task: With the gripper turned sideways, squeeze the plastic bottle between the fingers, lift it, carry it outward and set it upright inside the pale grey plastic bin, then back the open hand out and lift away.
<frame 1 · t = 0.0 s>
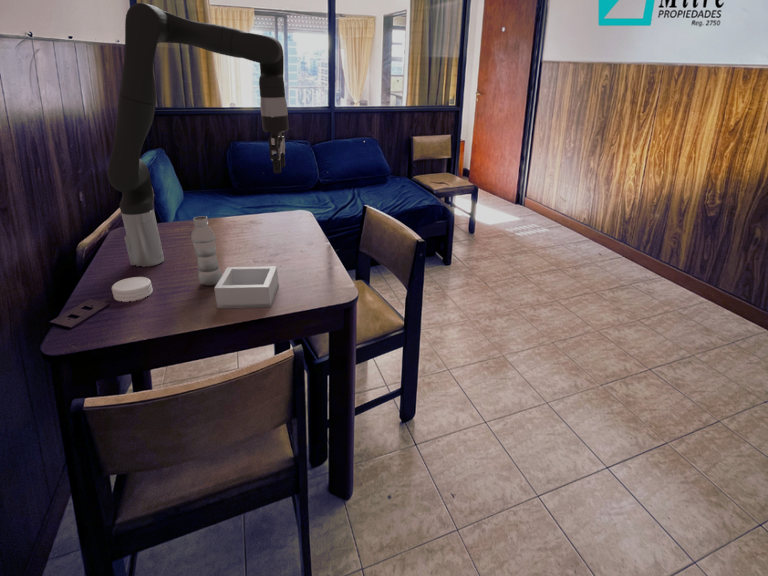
hand: (279, 170, 147), 29 cm above the table, tool pointing down, fingers open, 8 cm apart
plastic bottle: (211, 284, 142), on the table
bin: (249, 296, 135), on the table
coaster: (134, 295, 136), on the table
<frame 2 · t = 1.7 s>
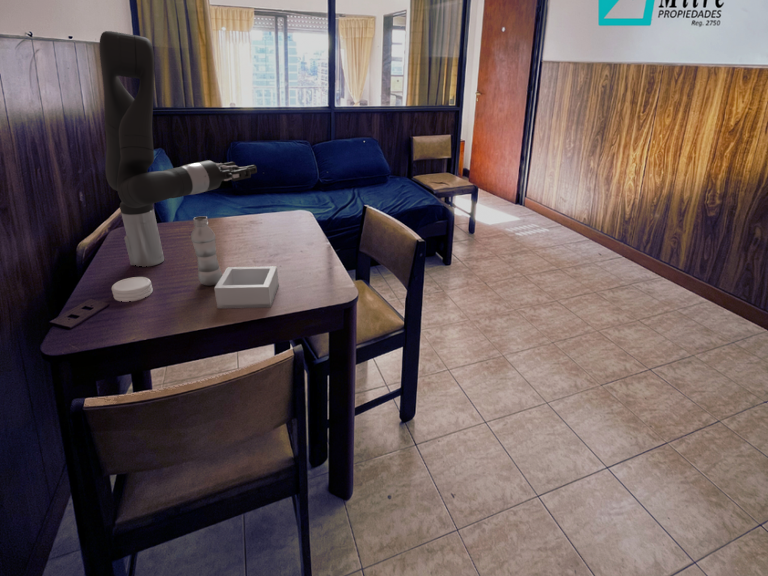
hand: (245, 167, 137), 32 cm above the table, tool horizontal, fingers open, 8 cm apart
nothing on the table moved.
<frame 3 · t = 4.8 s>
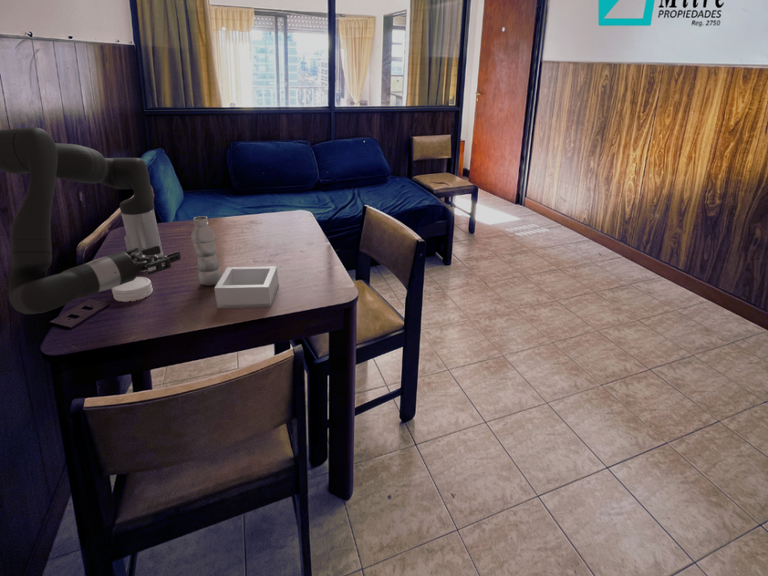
hand: (169, 252, 128), 14 cm above the table, tool horizontal, fingers open, 8 cm apart
nothing on the table moved.
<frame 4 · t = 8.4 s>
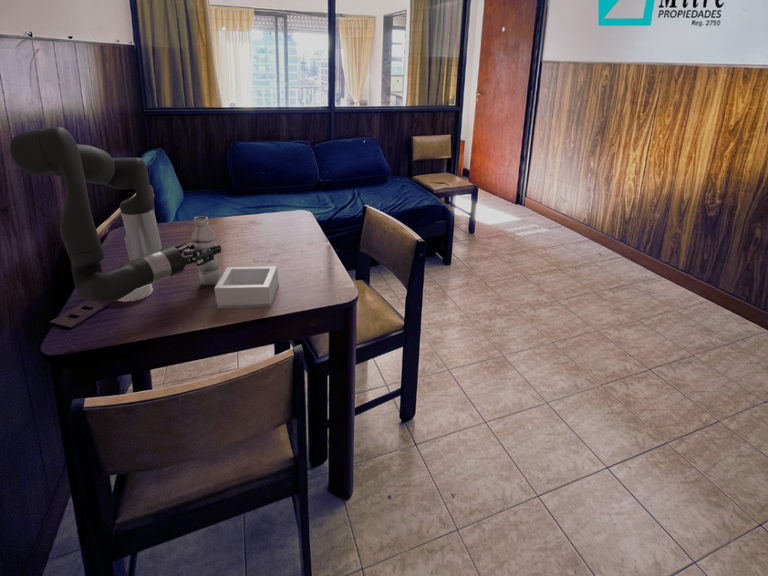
hand: (212, 246, 139), 11 cm above the table, tool horizontal, fingers closed on plastic bottle, 6 cm apart
plastic bottle: (211, 284, 142), on the table, touching gripper
everything else where it was.
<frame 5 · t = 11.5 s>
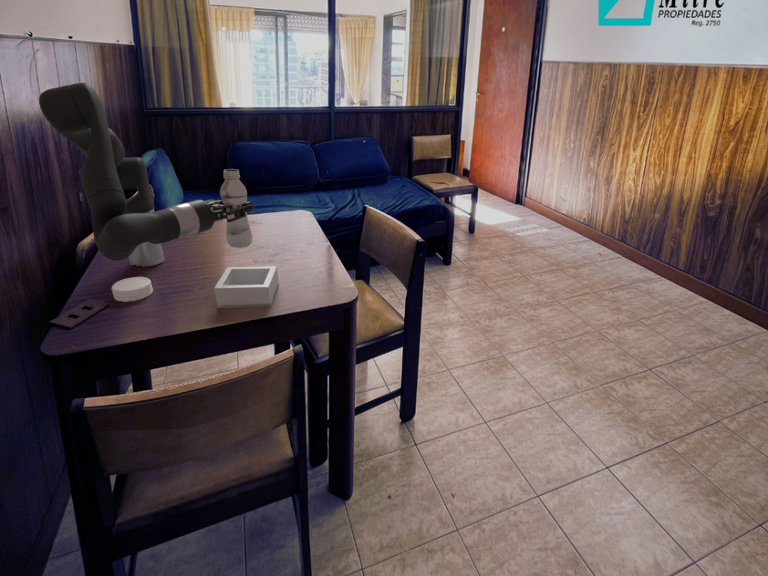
hand: (242, 203, 125), 26 cm above the table, tool horizontal, fingers closed on plastic bottle, 6 cm apart
plastic bottle: (240, 247, 128), point 15 cm above the table, touching gripper
everything else where it was.
when the fingers open (13 cm above the table, at t = 14.6 s): plastic bottle drops 1 cm, resting on bin.
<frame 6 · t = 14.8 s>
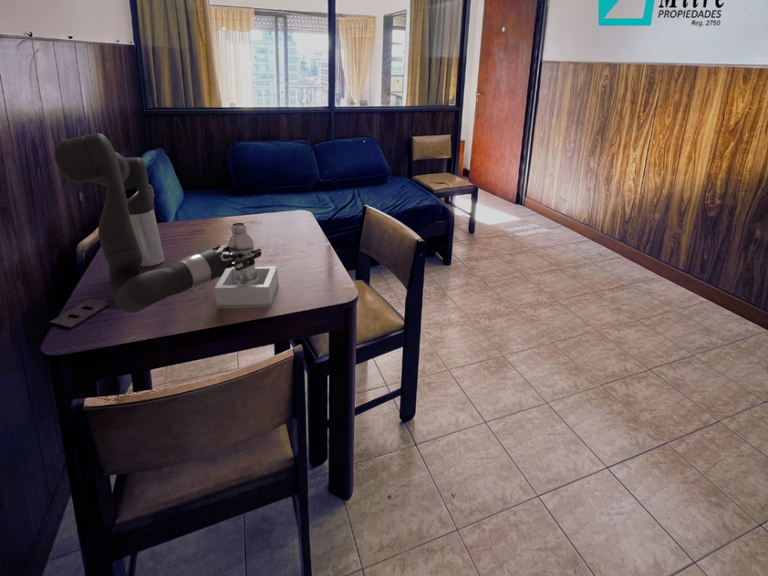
hand: (249, 248, 130), 13 cm above the table, tool horizontal, fingers open, 8 cm apart
plastic bottle: (248, 293, 134), point 1 cm above the table, touching bin
everything else where it was.
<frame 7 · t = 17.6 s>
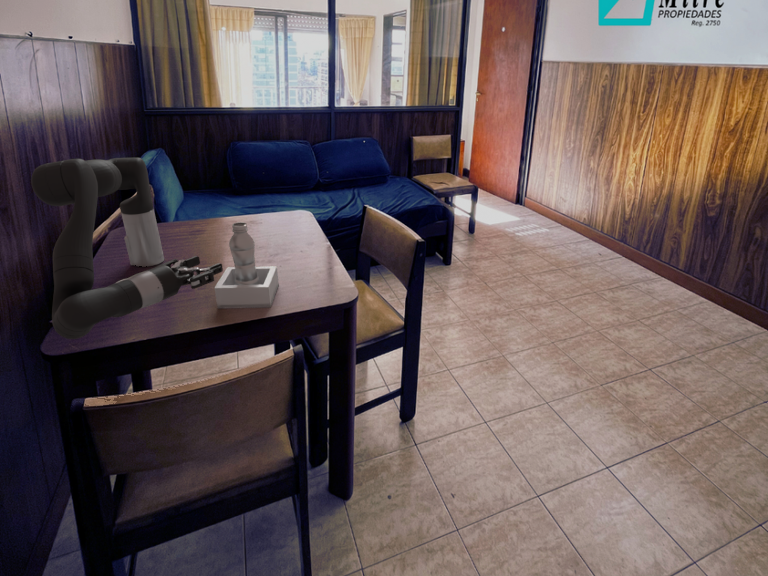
hand: (209, 263, 120), 14 cm above the table, tool horizontal, fingers open, 8 cm apart
nothing on the table moved.
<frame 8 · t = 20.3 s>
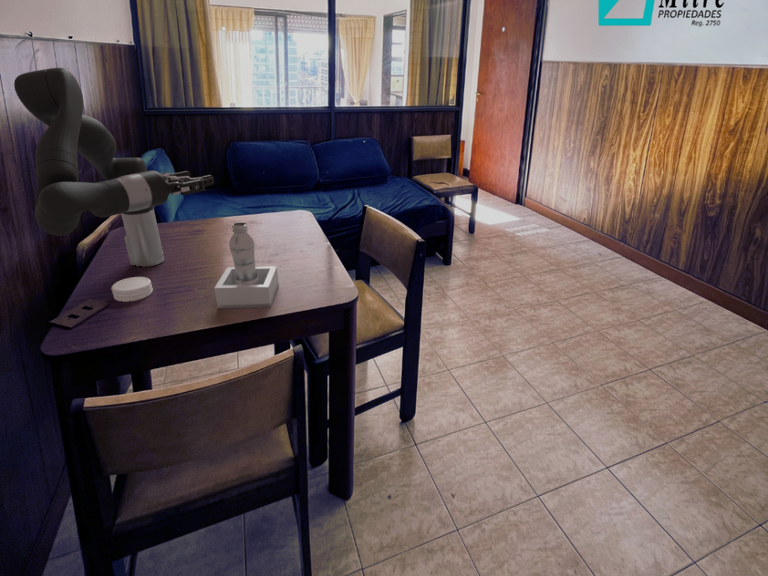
hand: (201, 177, 117), 34 cm above the table, tool horizontal, fingers open, 8 cm apart
nothing on the table moved.
at the end: plastic bottle inside the target area on the bin (0.2 cm from its centre), point 0.8 cm above the bin's base; plastic bottle tilted 0°; the gripper is holding nothing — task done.
